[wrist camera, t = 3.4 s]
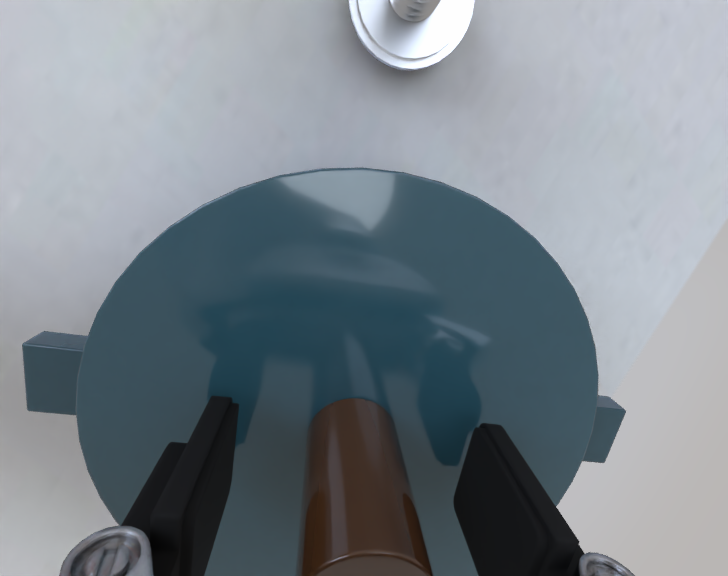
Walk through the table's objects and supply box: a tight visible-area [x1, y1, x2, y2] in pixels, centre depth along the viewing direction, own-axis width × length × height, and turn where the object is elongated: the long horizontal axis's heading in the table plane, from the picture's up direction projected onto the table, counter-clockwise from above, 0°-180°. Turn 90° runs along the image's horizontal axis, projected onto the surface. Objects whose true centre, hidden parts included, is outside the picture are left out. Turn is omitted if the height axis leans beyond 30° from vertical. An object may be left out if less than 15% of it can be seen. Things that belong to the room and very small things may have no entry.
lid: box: [76, 168, 598, 576], centre depth 10 cm, size 16×16×6 cm
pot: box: [22, 331, 626, 463], centre depth 17 cm, size 15×20×8 cm
